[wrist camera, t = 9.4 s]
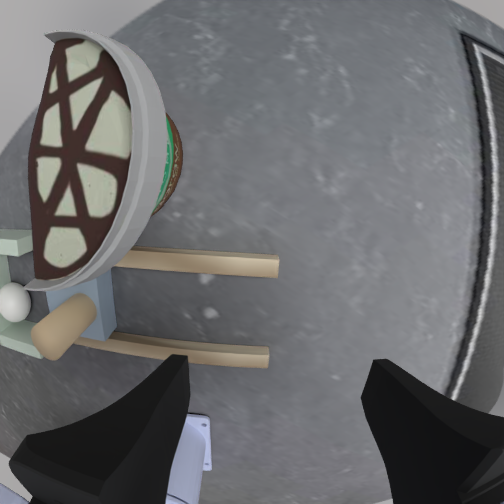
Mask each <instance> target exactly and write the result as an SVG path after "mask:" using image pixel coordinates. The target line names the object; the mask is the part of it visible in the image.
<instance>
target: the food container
mask: <svg viewBox="0 0 504 504" xmlns="http://www.w3.org/2000/svg"><path fill="white" fill-rule="evenodd" d="M44 35H45V36H46V37H47V38H48V39H50V40H51V41H52V42H54V43H55V45H54V48H53V51H52V54H51V56H50V63H49V68H48V73H47V77H46V81H45V85H44V90H43V94H42V99H41V102H40V106H39V109H38V113H37V117H36V121H35V125H34V129H33V133H32V138H31V143H30V149H29V156H28V184H29V197H30V209H31V222H32V243H33V257H34V270H35V278H34V279H33V280H32V281H31V282H29V283H28V284H27V285H25V286H24V287H23V289H25V290H32V291H56V290H61V289H65V288H68V287H72V286H75V285H78V284H82V283H85V282H88V281H91V280H93V279H95V278H97V277H99V276H100V275H102V274H104V273H106V272H107V271H108V270H110V269H111V268H112V267H113V266H114V265H116V264H117V263H118V262H119V261H121V259H122V258H123V257H124V256H125V255H126V254H127V252H128V251H129V250H130V249H131V248H132V247H133V246H134V244H135V243H136V241H137V239H138V238H139V236H140V235H141V233H142V232H143V230H144V228H145V227H146V225H147V223H148V220H149V218H150V217H151V216H152V215H154V214H155V213H156V212H157V211H159V210H160V209H161V208H162V207H163V206H164V204H165V203H166V201H167V200H168V199H169V197H170V196H171V195H172V193H173V192H174V191H175V188H176V185H177V183H178V180H179V177H180V175H181V169H182V164H183V150H182V142H181V139H180V135H179V132H178V130H177V128H176V126H175V124H174V122H173V121H172V120H171V118H170V117H169V115H168V114H167V113H166V112H165V108H164V104H163V101H162V97H161V93H160V90H159V88H158V85H157V83H156V81H155V79H154V77H153V75H152V73H151V71H150V70H149V69H148V67H147V66H146V65H145V63H144V62H143V61H142V59H141V58H140V57H139V56H138V55H137V54H135V53H134V52H133V51H132V50H131V49H130V48H128V47H127V46H125V45H123V44H121V43H119V42H117V41H115V40H113V39H111V38H108V37H105V36H103V35H100V34H97V33H93V32H89V31H85V30H56V31H52V32H47V33H44Z"/></svg>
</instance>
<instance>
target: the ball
mask: <svg viewBox="0 0 504 504" xmlns="http://www.w3.org/2000/svg"><path fill="white" fill-rule="evenodd" d="M30 308H31V299H30V296H29V293H28V291H27V290H25V289H23V286H22V285H21V284H18V283H15V282H11V283H7V284H5V285H4V286H3V287H2V288H1V289H0V313H1V315H2V316H3V317H4V318H5V319H7V320H8V321H11V322H20V321H22V320H24V319H25V318H26V317H27V316H28V314H29V312H30Z"/></svg>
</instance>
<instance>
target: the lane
mask: <svg viewBox="0 0 504 504" xmlns="http://www.w3.org/2000/svg"><path fill="white" fill-rule="evenodd" d="M114 266H118V267H130V268H142V269H154V270H166V271H180V272H193V273H207V274H222V275H238V276H254V277H271V278H278V268H279V258H278V255H270V254H254V253H238V252H222V251H206V250H190V249H174V248H158V247H142V246H133V247H132V248H131V249H130V250H129V251H128V252H127V254H126V255H125V256H124V257H123V258H122V259H121V261H119V262H118V263H117V264H116V265H114ZM74 344H78V345H83V346H87V347H92V348H97V349H102V350H107V351H112V352H118V353H123V354H129V355H135V356H142V357H148V358H155V359H162V360H166V359H167V358H168V357H169V356H170V355H171V354H178V355H187V356H188V363H197V364H207V365H219V366H233V367H250V368H268V362H269V348H268V347H266V346H245V345H229V344H216V343H204V342H193V341H183V340H174V339H165V338H157V337H149V336H142V335H135V334H128V333H122V332H115V331H113V332H112V334H111V335H110V336H109V337H108V339H107V340H106V341H100V340H95V339H90V338H85V337H80V336H79V337H78V338H77V339H76V340H75V342H74Z"/></svg>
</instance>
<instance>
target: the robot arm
mask: <svg viewBox="0 0 504 504" xmlns="http://www.w3.org/2000/svg"><path fill="white" fill-rule="evenodd" d="M361 400H362V405H363V409H364V413H365V416H366V419H367V422H368V424H369V426H370V429H371V431H372V434H373V436H374V438H375V441H376V443H377V446H378V448H379V450H380V453H381V455H382V458H383V461H384V463H385V467H386V471H387V475H388V479H389V483H390V488H391V493H392V498H393V504H504V417H500V416H495V415H491V414H487V413H484V412H481V411H478V410H475V409H472V408H469V407H467V406H464V405H462V404H460V403H458V402H456V401H453V400H451V399H449V398H447V397H446V396H444V395H442V394H440V393H439V392H437V391H435V390H433V389H432V388H430V387H429V386H427V385H426V384H424V383H422V382H421V381H419V380H418V379H416V378H415V377H414V376H412V375H411V374H409V373H408V372H406V371H405V370H403V369H402V368H400V367H399V366H398V365H396V364H394V363H393V362H391V361H390V360H388V359H376V360H373V363H372V366H371V369H370V372H369V375H368V378H367V381H366V384H365V387H364V390H363V393H362V395H361ZM189 401H190V383H189V366H188V356H187V355H178V354H171V355H170V356H169V357H168V358H167V359H166V360H165V361H164V362H163V363H162V364H161V365H160V366H159V367H158V368H157V369H156V370H155V371H154V372H152V373H151V374H150V375H149V376H148V377H147V378H146V379H145V380H144V381H142V382H141V383H140V384H139V385H138V386H136V387H135V388H134V389H133V390H131V391H130V392H129V393H128V394H126V395H125V396H124V397H122V398H121V399H119V400H118V401H116V402H115V403H113V404H112V405H110V406H108V407H107V408H105V409H103V410H101V411H99V412H97V413H95V414H93V415H91V416H89V417H87V418H85V419H83V420H80V421H78V422H75V423H72V424H70V425H67V426H64V427H61V428H57V429H54V430H50V431H45V432H41V433H36V434H31V435H27V436H26V437H25V439H24V440H23V441H22V443H21V444H20V446H19V447H18V449H17V450H16V452H15V453H14V455H13V456H12V458H11V459H10V461H9V466H10V469H11V471H12V473H13V474H14V475H15V477H16V478H17V479H18V480H19V481H20V483H21V484H22V485H23V486H24V487H25V488H26V489H27V491H28V492H29V493H30V494H31V495H32V496H33V497H32V499H31V501H30V502H29V501H27V500H26V499H25V498H23V497H22V496H20V495H19V494H17V493H15V492H14V491H12V490H11V489H9V488H7V487H6V486H4V485H3V484H1V483H0V504H198V501H199V493H200V486H201V479H202V472H203V470H207V471H209V470H211V469H212V460H211V438H210V419H209V417H207V416H203V415H194V414H187V412H188V407H189ZM203 423H205V424H203Z"/></svg>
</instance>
